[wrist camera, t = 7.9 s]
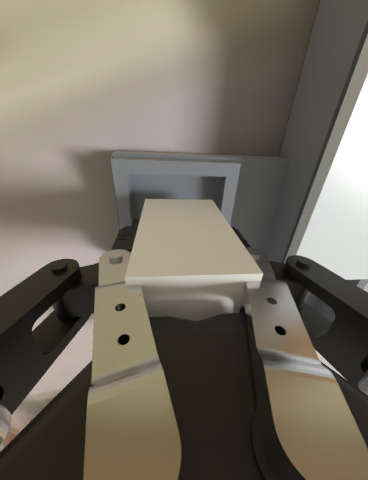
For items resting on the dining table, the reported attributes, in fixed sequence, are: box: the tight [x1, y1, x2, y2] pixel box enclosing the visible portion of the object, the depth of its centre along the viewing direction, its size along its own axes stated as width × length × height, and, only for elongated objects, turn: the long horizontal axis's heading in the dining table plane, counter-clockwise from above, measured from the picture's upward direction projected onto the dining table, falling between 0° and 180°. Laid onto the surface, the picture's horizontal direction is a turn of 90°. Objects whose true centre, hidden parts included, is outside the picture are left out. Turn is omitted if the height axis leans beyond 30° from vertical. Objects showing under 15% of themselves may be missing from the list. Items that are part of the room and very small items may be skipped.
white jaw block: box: [125, 199, 263, 321], centre depth 10 cm, size 4×4×7 cm
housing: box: [111, 0, 368, 323], centre depth 13 cm, size 27×20×8 cm
